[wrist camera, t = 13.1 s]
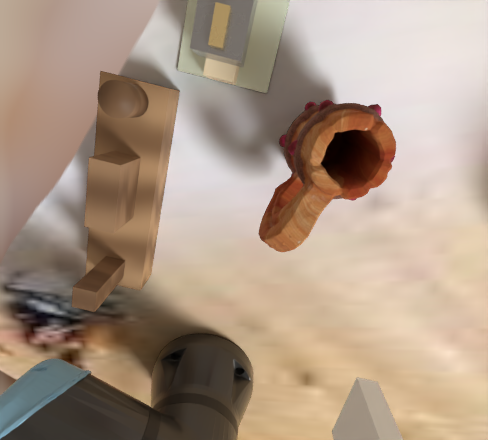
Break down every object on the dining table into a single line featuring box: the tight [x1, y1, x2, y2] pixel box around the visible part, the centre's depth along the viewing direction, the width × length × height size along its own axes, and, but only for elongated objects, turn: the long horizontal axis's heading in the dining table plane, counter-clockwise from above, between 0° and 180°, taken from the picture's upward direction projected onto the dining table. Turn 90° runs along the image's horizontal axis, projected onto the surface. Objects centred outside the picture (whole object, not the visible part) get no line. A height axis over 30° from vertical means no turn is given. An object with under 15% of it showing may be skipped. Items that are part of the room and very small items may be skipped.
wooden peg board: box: [72, 71, 180, 312], centre depth 33 cm, size 24×7×11 cm, turn 166°
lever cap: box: [190, 0, 258, 67], centre depth 26 cm, size 7×4×5 cm, turn 167°
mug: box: [259, 100, 396, 252], centre depth 29 cm, size 15×8×15 cm, turn 143°
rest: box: [177, 0, 290, 93], centre depth 30 cm, size 10×10×4 cm
